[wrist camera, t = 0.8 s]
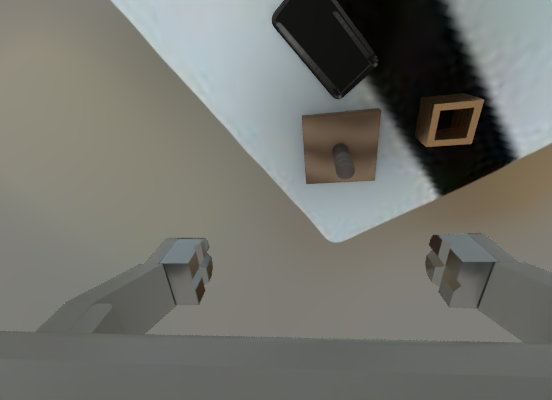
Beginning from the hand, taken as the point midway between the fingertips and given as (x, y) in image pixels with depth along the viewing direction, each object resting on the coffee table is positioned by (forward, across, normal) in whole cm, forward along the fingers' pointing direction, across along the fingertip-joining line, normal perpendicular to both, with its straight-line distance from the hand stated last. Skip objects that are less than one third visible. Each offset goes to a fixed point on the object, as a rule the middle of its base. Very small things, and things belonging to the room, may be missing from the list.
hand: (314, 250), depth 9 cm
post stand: (+36, -7, +5) cm, 37 cm away
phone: (+35, -4, -11) cm, 37 cm away
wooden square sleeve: (+35, -21, 0) cm, 41 cm away
